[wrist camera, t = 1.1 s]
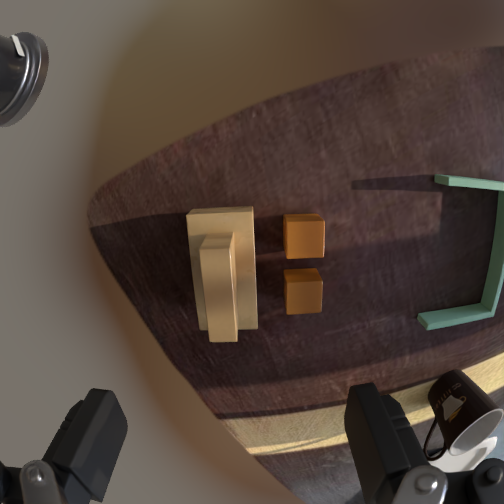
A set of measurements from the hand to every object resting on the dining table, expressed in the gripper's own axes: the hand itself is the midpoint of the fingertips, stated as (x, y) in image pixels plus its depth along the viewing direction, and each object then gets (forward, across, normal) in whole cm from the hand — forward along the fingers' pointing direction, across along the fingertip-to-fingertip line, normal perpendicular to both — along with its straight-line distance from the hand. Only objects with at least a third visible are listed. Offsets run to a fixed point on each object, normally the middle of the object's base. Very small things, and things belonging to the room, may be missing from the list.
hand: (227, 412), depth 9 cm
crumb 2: (+19, -5, +4) cm, 20 cm away
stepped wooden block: (+19, +2, +1) cm, 19 cm away
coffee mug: (+19, -26, +23) cm, 40 cm away
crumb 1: (+19, -5, -1) cm, 19 cm away
